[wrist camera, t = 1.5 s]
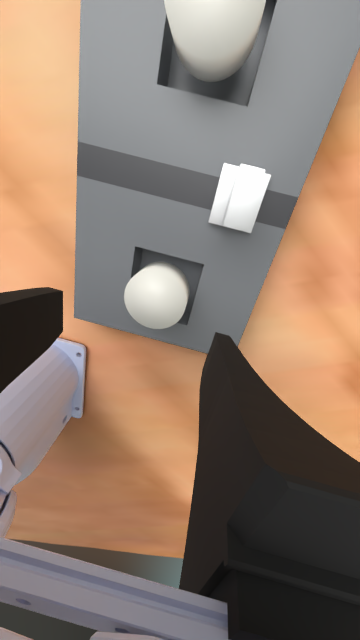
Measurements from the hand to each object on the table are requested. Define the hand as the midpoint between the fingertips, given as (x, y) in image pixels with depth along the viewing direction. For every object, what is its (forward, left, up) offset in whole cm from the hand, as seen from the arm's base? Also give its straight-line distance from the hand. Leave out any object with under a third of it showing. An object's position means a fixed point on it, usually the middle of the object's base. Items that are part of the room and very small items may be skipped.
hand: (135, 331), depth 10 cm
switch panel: (+6, 0, -8) cm, 10 cm away
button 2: (+12, 0, -6) cm, 13 cm away
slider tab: (+6, -3, -6) cm, 9 cm away
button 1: (0, 0, -6) cm, 6 cm away
